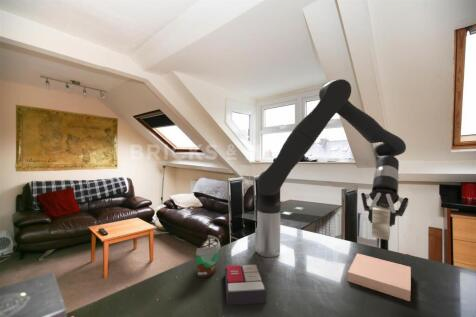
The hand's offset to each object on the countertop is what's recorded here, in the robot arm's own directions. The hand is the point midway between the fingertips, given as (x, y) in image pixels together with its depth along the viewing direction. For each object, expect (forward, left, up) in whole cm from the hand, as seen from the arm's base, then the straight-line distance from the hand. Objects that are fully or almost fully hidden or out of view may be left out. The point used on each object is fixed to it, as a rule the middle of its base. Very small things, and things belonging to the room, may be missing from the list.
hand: (381, 223), depth 72 cm
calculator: (-33, -29, -19) cm, 48 cm away
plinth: (0, +1, -19) cm, 19 cm away
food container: (-47, -29, -19) cm, 58 cm away
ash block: (0, +1, -5) cm, 5 cm away
